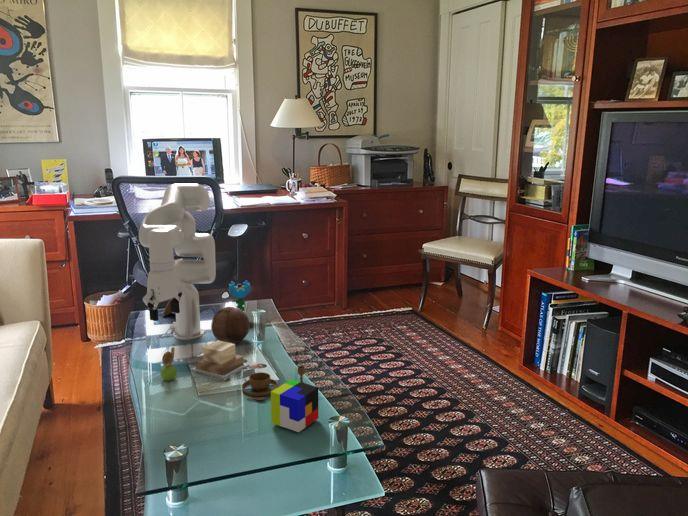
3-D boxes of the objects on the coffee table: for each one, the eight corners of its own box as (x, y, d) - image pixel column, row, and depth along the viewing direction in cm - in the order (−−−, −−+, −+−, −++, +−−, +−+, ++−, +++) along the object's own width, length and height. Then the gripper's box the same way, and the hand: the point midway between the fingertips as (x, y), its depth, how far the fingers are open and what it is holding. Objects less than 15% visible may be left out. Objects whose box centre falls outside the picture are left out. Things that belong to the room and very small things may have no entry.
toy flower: (251, 323, 257) (250, 284, 253) (231, 325, 255) (229, 285, 251) (250, 317, 266) (248, 279, 262) (230, 318, 264) (228, 280, 260)
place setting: (250, 377, 203) (249, 362, 202) (306, 381, 201) (306, 365, 200) (235, 400, 186) (234, 383, 185) (296, 404, 184) (296, 387, 183)
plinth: (195, 369, 207) (194, 348, 205) (217, 357, 217) (216, 337, 215) (222, 376, 201) (221, 354, 200) (243, 363, 212) (243, 343, 210)
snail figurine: (182, 376, 202) (180, 344, 200) (171, 384, 196) (169, 351, 194) (169, 374, 204) (167, 342, 201) (157, 382, 198) (155, 348, 195)
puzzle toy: (298, 432, 166) (298, 400, 164) (271, 422, 172) (270, 391, 169) (318, 418, 175) (318, 387, 173) (291, 409, 180) (291, 379, 178)
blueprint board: (189, 371, 207) (189, 368, 207) (215, 357, 219) (215, 355, 219) (225, 380, 200) (225, 377, 200) (249, 366, 212) (249, 363, 212)
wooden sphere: (253, 337, 241) (253, 302, 238) (244, 350, 226) (243, 314, 223) (218, 335, 242) (217, 301, 239) (206, 349, 228) (205, 312, 224)
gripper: (172, 260, 200) (175, 308, 204) (133, 270, 185) (137, 321, 188) (189, 262, 197) (191, 311, 200) (150, 273, 182) (154, 325, 185)
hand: (165, 316), depth 194 cm, fingers open, 9 cm apart
